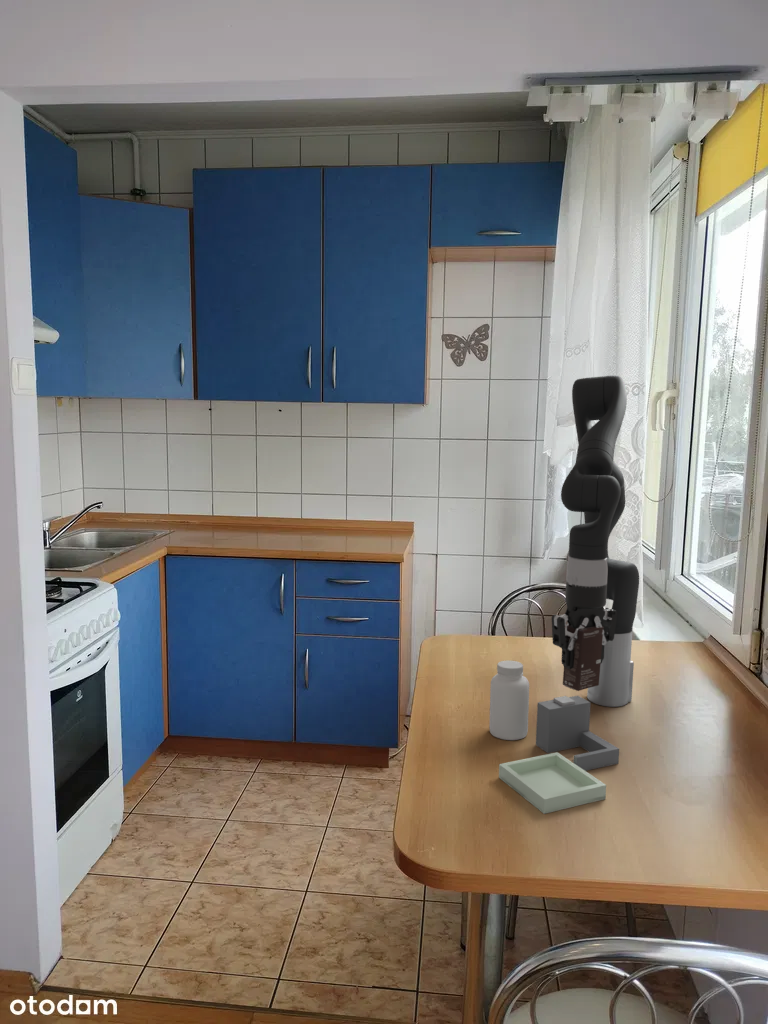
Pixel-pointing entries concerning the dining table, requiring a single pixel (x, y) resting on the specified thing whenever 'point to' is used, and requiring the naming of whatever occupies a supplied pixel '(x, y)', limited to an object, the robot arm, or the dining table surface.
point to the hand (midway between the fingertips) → (582, 664)
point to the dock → (572, 732)
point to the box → (585, 659)
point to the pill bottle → (509, 702)
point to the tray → (552, 782)
